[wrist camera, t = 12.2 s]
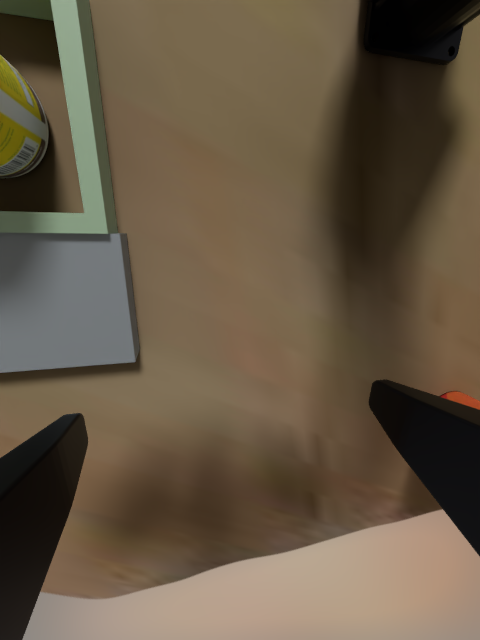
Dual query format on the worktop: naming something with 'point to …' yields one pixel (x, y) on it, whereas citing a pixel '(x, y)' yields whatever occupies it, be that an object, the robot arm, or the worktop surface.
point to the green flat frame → (68, 234)
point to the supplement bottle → (20, 124)
